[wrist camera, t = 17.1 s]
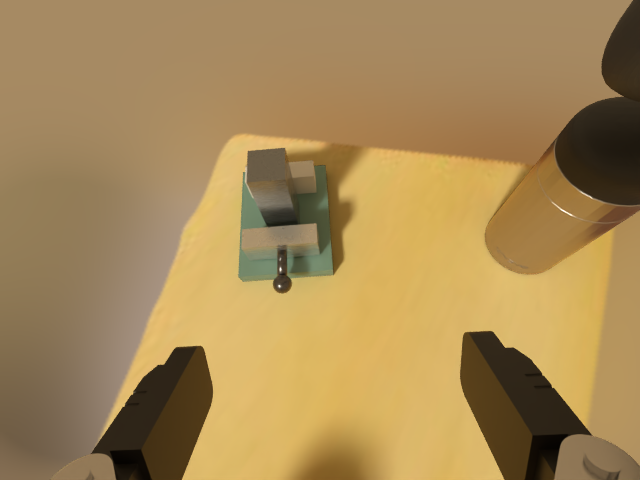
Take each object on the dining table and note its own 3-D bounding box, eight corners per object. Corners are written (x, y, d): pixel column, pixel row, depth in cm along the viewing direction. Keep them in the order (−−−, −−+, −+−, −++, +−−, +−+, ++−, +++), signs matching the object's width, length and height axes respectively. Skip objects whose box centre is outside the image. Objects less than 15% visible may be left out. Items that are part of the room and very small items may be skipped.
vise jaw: (322, 294, 42) (319, 285, 39) (248, 300, 43) (239, 291, 39) (318, 237, 46) (316, 223, 42) (250, 242, 46) (242, 229, 42)
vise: (333, 274, 46) (331, 258, 40) (242, 281, 46) (228, 266, 41) (326, 173, 52) (323, 146, 47) (246, 180, 53) (235, 155, 48)
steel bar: (270, 206, 48) (247, 151, 38) (299, 204, 48) (285, 147, 37) (270, 232, 47) (246, 182, 36) (300, 230, 47) (285, 179, 36)
